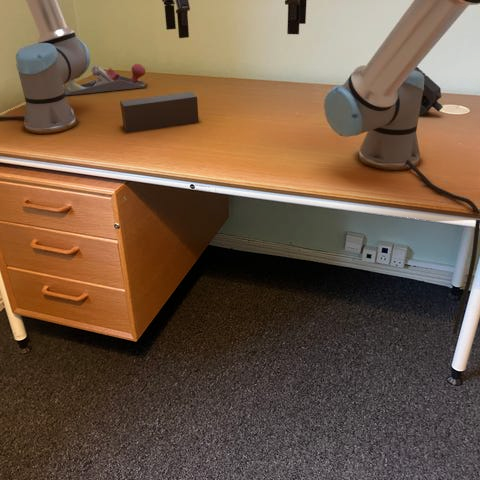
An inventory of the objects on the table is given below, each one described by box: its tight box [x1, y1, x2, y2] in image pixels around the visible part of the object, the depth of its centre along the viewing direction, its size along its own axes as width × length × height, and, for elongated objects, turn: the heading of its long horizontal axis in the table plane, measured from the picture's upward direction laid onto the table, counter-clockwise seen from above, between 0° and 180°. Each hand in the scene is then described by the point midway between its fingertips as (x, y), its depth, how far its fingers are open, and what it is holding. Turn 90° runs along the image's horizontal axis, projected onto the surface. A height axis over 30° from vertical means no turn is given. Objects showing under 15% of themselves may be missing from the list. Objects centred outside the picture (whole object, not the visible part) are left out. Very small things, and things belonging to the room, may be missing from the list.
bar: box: [119, 91, 200, 134], centre depth 162 cm, size 22×6×8 cm, turn 111°
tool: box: [414, 66, 444, 116], centre depth 168 cm, size 6×19×15 cm, turn 51°
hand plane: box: [63, 63, 146, 96], centre depth 194 cm, size 7×31×15 cm, turn 107°
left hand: (177, 33), depth 153 cm, fingers open, 13 cm apart
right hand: (296, 28), depth 132 cm, fingers open, 13 cm apart
